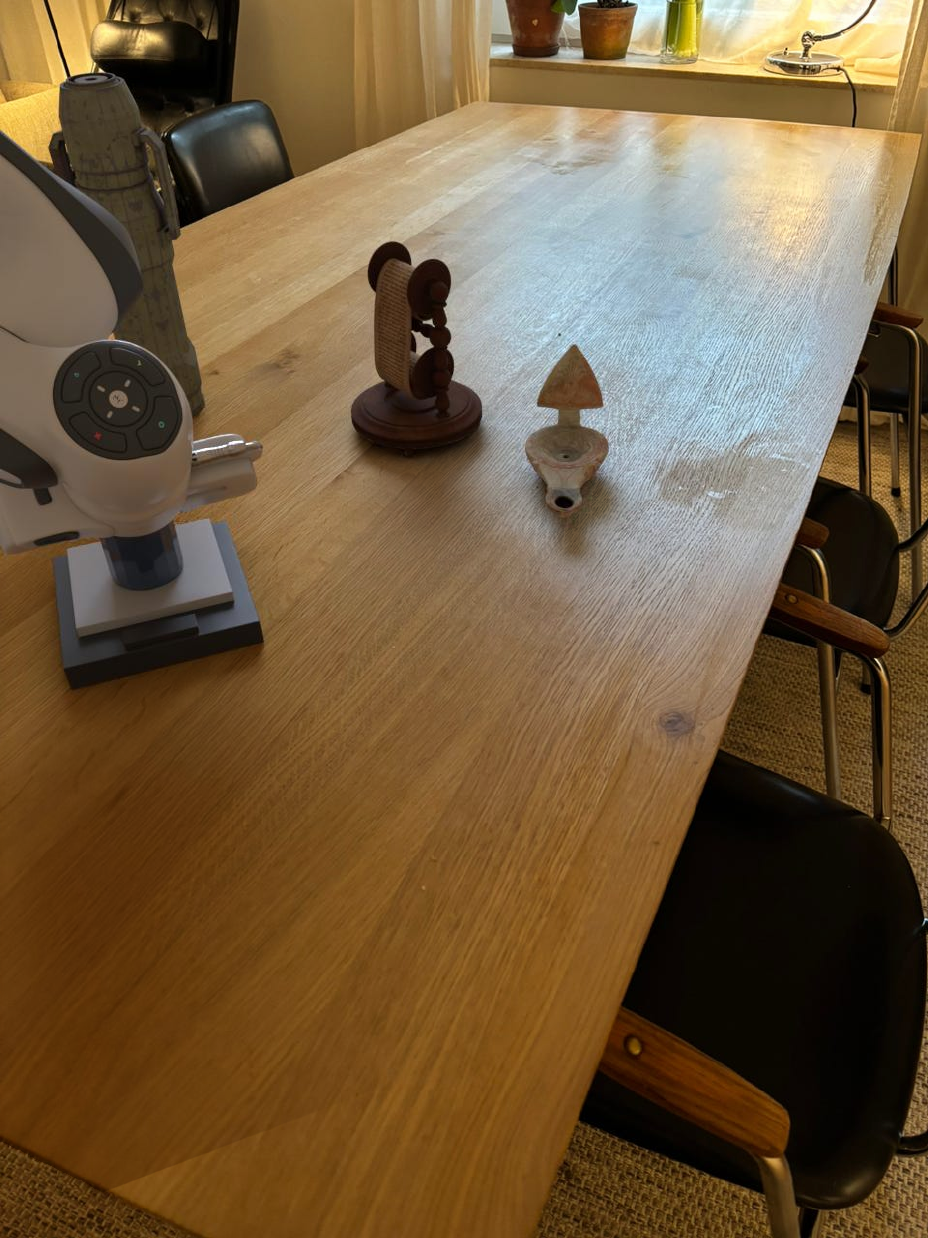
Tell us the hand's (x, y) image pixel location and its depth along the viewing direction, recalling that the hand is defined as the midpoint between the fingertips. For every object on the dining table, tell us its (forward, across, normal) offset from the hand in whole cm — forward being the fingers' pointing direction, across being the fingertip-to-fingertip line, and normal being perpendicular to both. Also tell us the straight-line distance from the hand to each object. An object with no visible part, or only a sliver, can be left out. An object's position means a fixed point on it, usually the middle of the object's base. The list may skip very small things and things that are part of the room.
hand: (131, 516), depth 85 cm
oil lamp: (+6, -43, +6) cm, 44 cm away
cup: (+3, 0, +4) cm, 5 cm away
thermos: (+31, -9, -19) cm, 38 cm away
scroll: (+18, -34, -6) cm, 39 cm away
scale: (+5, 0, +8) cm, 9 cm away
